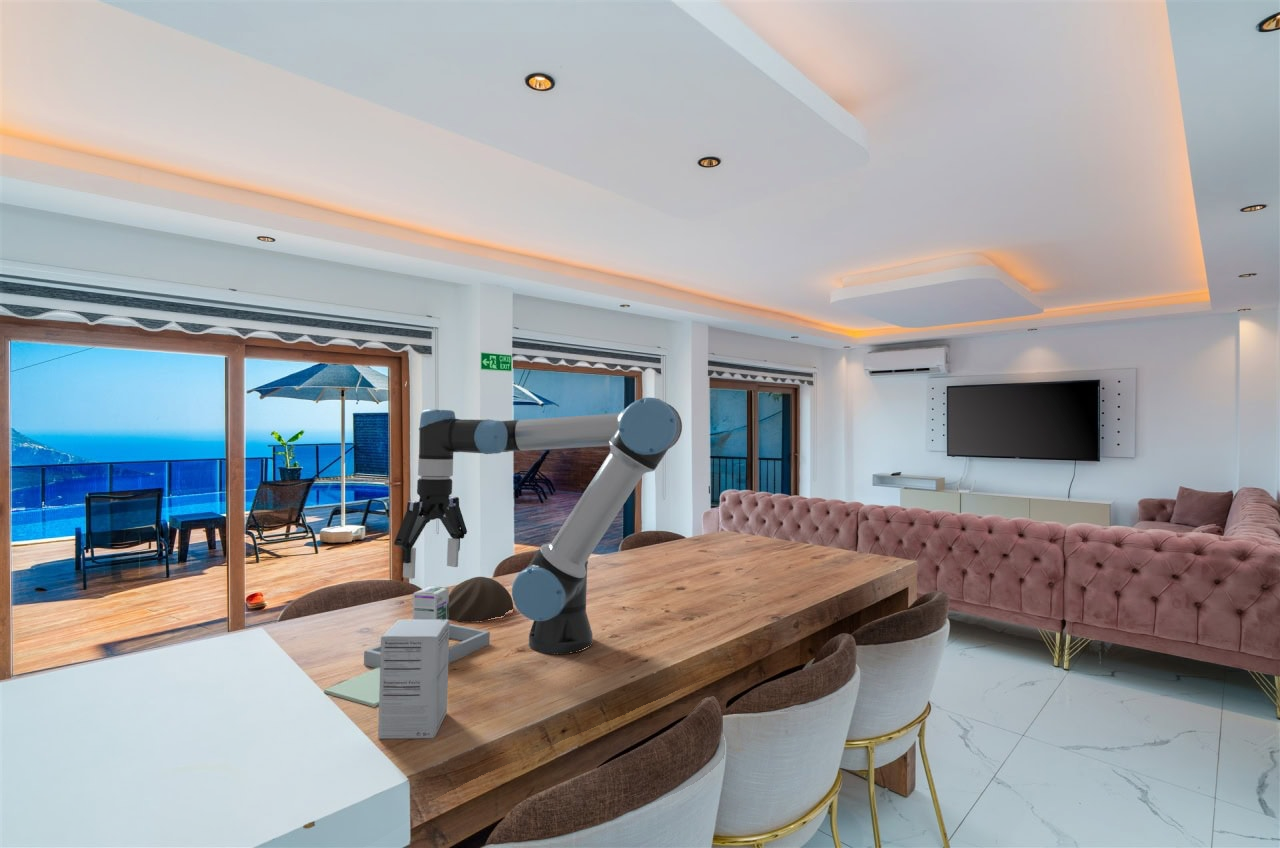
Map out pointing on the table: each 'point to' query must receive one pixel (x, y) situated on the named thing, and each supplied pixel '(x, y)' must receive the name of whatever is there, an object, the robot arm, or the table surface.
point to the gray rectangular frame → (469, 644)
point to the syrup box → (431, 604)
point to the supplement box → (413, 679)
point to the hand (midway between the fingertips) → (431, 571)
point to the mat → (359, 688)
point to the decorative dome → (479, 600)
